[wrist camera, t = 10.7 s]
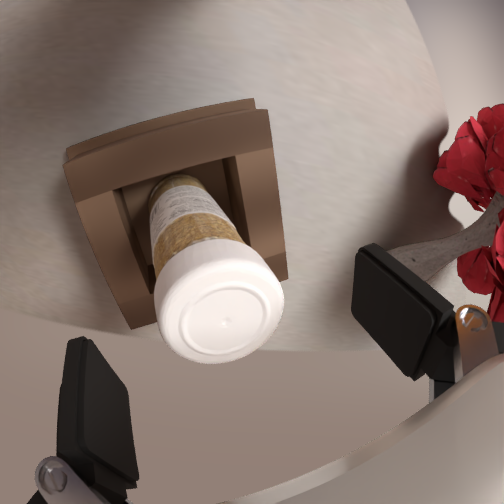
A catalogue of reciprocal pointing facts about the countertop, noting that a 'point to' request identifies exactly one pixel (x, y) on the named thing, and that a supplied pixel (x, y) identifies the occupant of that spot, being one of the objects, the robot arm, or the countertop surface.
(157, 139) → the socket block
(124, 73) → the countertop surface
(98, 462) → the robot arm
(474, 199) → the bouquet
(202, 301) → the sprinkles bottle
